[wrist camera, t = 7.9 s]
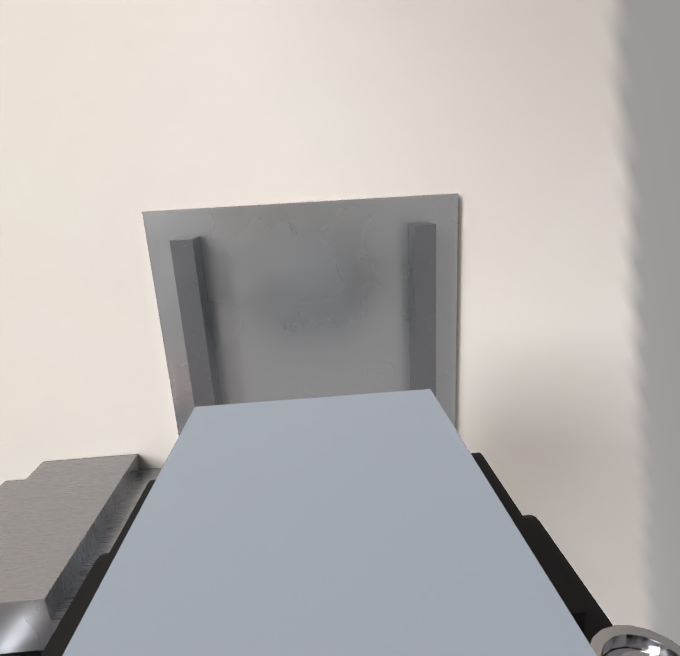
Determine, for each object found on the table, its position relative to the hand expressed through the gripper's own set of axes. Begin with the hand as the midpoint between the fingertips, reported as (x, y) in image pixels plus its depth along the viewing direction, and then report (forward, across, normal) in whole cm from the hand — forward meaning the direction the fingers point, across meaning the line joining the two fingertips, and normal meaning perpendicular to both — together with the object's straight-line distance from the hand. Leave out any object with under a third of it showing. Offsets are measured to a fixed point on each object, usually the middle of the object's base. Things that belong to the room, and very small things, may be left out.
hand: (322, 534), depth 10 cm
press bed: (+11, 0, 0) cm, 11 cm away
